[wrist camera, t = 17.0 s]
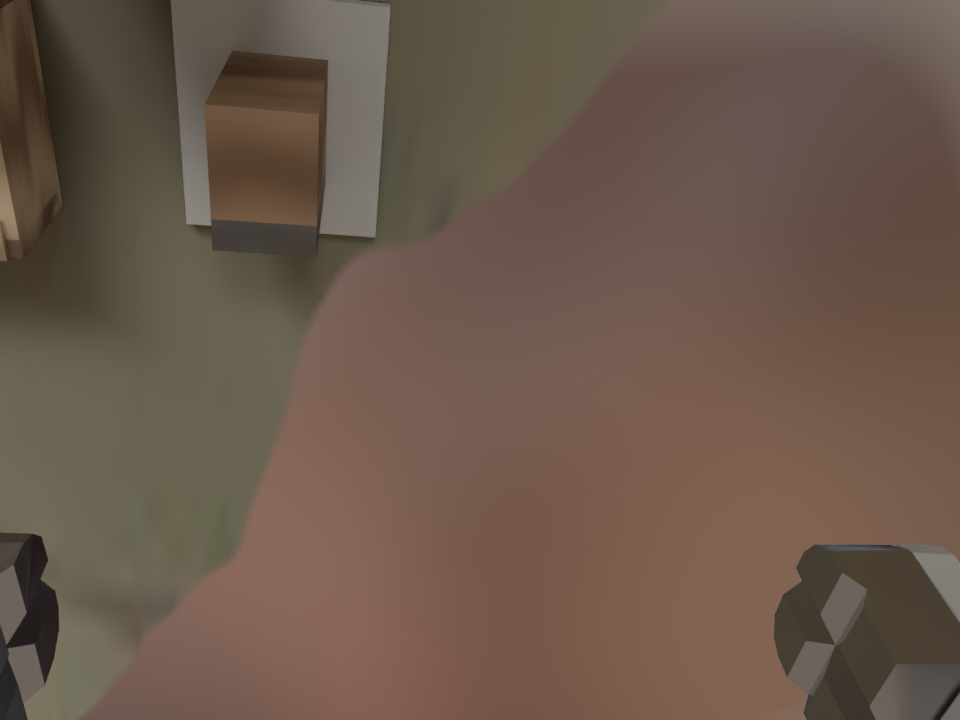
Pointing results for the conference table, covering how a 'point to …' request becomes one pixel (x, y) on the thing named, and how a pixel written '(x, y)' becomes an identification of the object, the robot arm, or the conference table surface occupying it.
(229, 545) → the conference table surface
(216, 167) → the capped block
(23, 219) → the brown wooden open box
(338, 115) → the felt pad
